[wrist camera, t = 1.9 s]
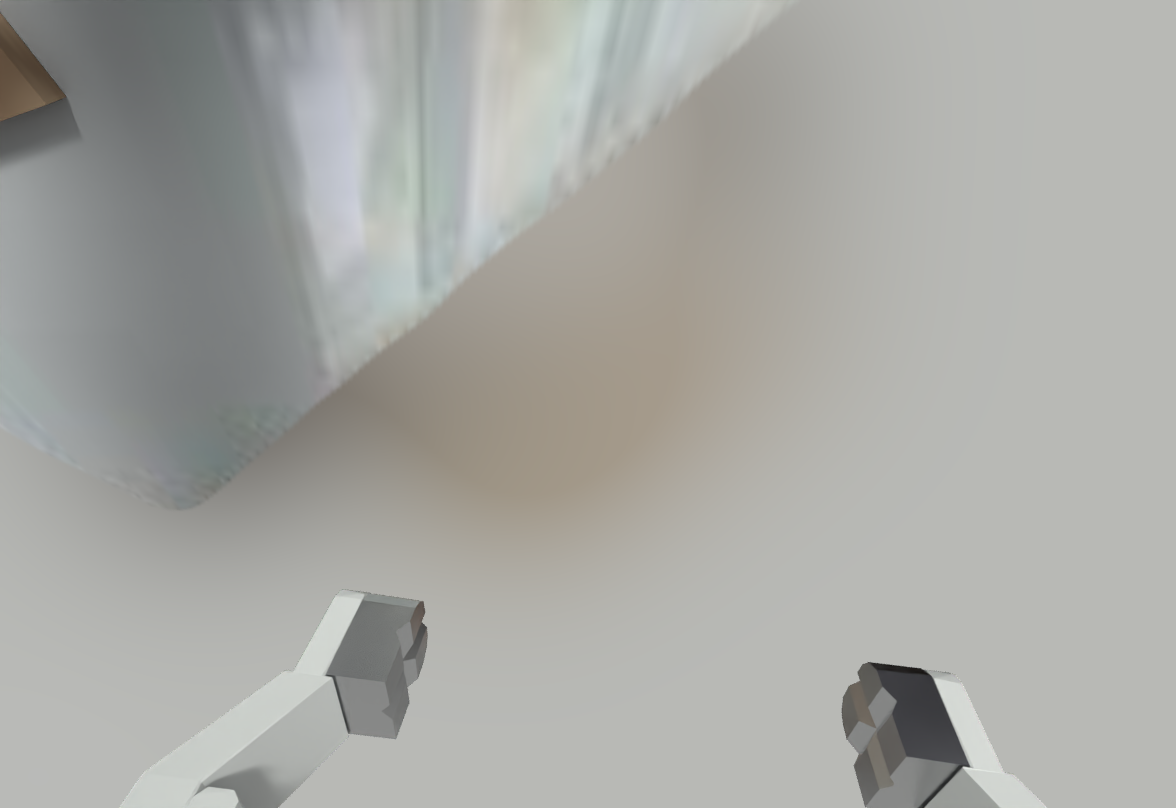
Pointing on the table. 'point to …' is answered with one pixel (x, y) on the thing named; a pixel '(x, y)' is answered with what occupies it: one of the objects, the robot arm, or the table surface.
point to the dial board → (22, 77)
